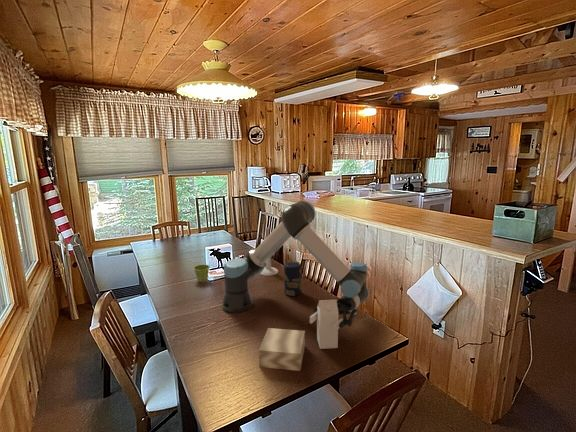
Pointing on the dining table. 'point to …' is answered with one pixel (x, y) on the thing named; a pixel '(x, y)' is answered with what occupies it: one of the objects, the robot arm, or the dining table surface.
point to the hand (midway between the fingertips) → (321, 324)
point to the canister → (292, 278)
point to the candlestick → (268, 264)
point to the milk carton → (327, 324)
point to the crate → (282, 349)
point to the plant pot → (202, 272)
